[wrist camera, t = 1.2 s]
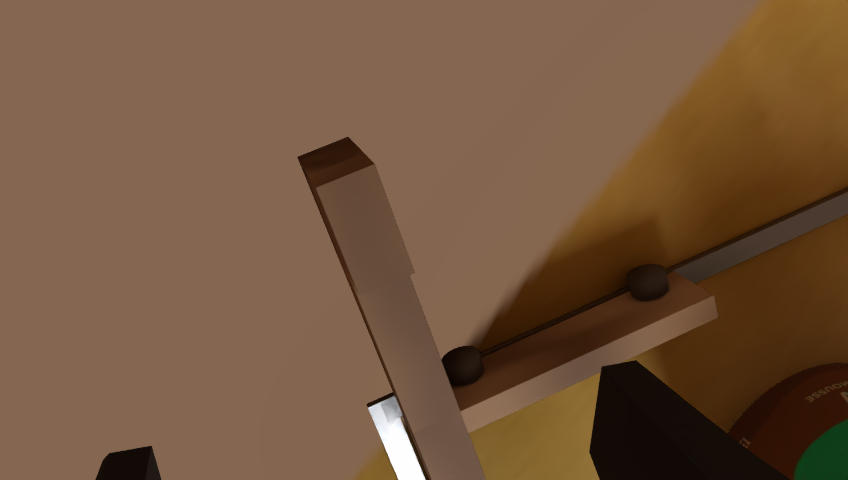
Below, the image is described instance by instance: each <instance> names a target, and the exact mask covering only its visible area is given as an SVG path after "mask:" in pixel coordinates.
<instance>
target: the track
mask: <svg viewBox="0 0 848 480" xmlns="http://www.w3.org/2000/svg"><path fill="white" fill-rule="evenodd" d="M847 214H848V188H846V189H844V190H842V191H840V192H838V193H835V194H833V195H831V196H829V197H826V198H824V199H822V200H820V201H817V202H815V203H813V204H811V205H809V206H806V207H804V208H802V209H800V210H797V211H795V212H793V213H791V214H789V215H786V216H784V217H782V218H780V219H777V220H775V221H773V222H771V223H768V224H766V225H764V226H762V227H760V228H757V229H755V230H753V231H751V232H748V233H746V234H744V235H742V236H740V237H737V238H735V239H733V240H731V241H728V242H726V243H724V244H722V245H720V246H717V247H715V248H713V249H711V250H708V251H706V252H704V253H702V254H699V255H697V256H695V257H693V258H691V259H688V260H686V261H684V262H682V263H679V264H677V265H675V266H673V267H671V268H668V269H666V270H665V271H666V275H667V274H669V273H671V272H673V271H675V272H677V273H678V274H680V275H682V276H683V277H685V278H687V279H688V280H690V281H691V282H693V283H697V282H699V281H701V280H704V279H706V278H708V277H710V276H712V275H715V274H717V273H719V272H721V271H723V270H726V269H728V268H730V267H732V266H734V265H737V264H739V263H741V262H743V261H745V260H748V259H750V258H752V257H754V256H756V255H759V254H761V253H763V252H765V251H767V250H770V249H772V248H774V247H776V246H778V245H781V244H783V243H785V242H787V241H789V240H792V239H794V238H796V237H798V236H800V235H803V234H805V233H807V232H809V231H811V230H814V229H816V228H818V227H820V226H822V225H825V224H827V223H829V222H831V221H833V220H836V219H838V218H840V217H842V216H844V215H847ZM629 291H630V288H629V286H628V287H626V288H624V289H622V290H619V291H617V292H615V293H613V294H610V295H608V296H606V297H604V298H602V299H599V300H597V301H595V302H593V303H590V304H588V305H586V306H584V307H581V308H579V309H577V310H575V311H573V312H570V313H568V314H566V315H564V316H561V317H559V318H557V319H555V320H553V321H550V322H548V323H546V324H544V325H541V326H539V327H537V328H535V329H533V330H530V331H528V332H526V333H524V334H521V335H519V336H517V337H515V338H512V339H510V340H508V341H506V342H504V343H501V344H499V345H497V346H495V347H492V348H490V349H488V350H486V351H484V352H481V353H479V354H480V357H481V358H482V357H485V356H487V355H489V354H491V353H493V352H496V351H498V350H500V349H502V348H505V347H507V346H509V345H511V344H513V343H516V342H518V341H520V340H522V339H525V338H527V337H529V336H531V335H533V334H536V333H538V332H540V331H542V330H544V329H547V328H549V327H551V326H553V325H556V324H558V323H560V322H562V321H564V320H567V319H569V318H571V317H573V316H576V315H578V314H580V313H582V312H584V311H587V310H589V309H591V308H593V307H596V306H598V305H600V304H602V303H604V302H607V301H609V300H611V299H613V298H616V297H618V296H620V295H622V294H624V293H627V292H629ZM367 406H368V409H369V411H370V413H371V416H372V418H373V420H374V423H375V425H376V428H377V430H378V432H379V435H380V437H381V439H382V442H383V444H384V446H385V449H386V451H387V453H388V456H389V458H390V460H391V463H392V465H393V467H394V470H395V472H396V474H397V477H398V479H399V480H425V477H424V475H423V472H422V470H421V467H420V465H419V463H418V460H417V458H416V455H415V453H414V450H413V448H412V445H411V443H410V441H409V438H408V436H407V433H406V431H405V428H404V426H403V423H402V421H401V419H400V417H402V416H403V415H402V412H401V410H400V408H399V405H398V403H397V400H396V398H395V395H394V393H393V392H392V393H390V394H388V395H386V396H383V397H381V398H379V399H377V400H374V401H373V402H370V403H368V404H367Z"/></svg>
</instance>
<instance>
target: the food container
mask: <svg viewBox="0 0 848 480" xmlns="http://www.w3.org/2000/svg"><path fill="white" fill-rule="evenodd" d="M728 435H730V436H731V437H732V438H734V439H735V440H736V441H738V442H739V443H740V444H741V445H743V446H744V447H745V448H747V449H748V450H750V451H751V452H752V453H754V454H755V455H756V456H758V457H759V458H761V459H762V460H763V461H765V462H766V463H767V464H769V465H770V466H772V467H773V468H775V469H776V470H778V471H779V472H780V473H782V474H783V475H785V476H786V477H788V478H789V479H791V480H848V364H842V363H834V364H826V365H820V366H816V367H813V368H809V369H806V370H803V371H801V372H799V373H797V374H794V375H792V376H790V377H788V378H786V379H785V380H783V381H781V382H780V383H778V384H777V385H775V386H773V387H772V388H770V389H769V390H768V391H767V392H766V393H764V394H763V395H762V396H761V397H759V398H758V399H757V400H756V401H755V402H754V403H753V404H752V405H751V406H750V407H749V408H748V409H747V410H746V411H745V412H744V413H743V414H742V415H741V416H740V418H739V419H738V420H737V422H736V423H735V424H734V426H733V427H732V428H731V430H730V431H729V432H728Z"/></svg>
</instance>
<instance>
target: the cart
mask: <svg viewBox="0 0 848 480" xmlns="http://www.w3.org/2000/svg"><path fill="white" fill-rule="evenodd" d="M298 160H299V162H300V165H301V167H302V170H303V172H304V174H305V177H306V179H307V182H308V184H309V187H310V189H311V191H312V194H313V196H314V199H315V201H316V204H317V206H318V209H319V211H320V214H321V216H322V219H323V221H324V223H325V226H326V228H327V231H328V233H329V236H330V238H331V241H332V243H333V246H334V248H335V251H336V253H337V255H338V258H339V260H340V263H341V265H342V268H343V270H344V273H345V275H346V278H347V280H348V282H349V285H350V287H351V290H352V292H353V294H354V297H355V300H356V302H357V305H358V307H359V309H360V312H361V314H362V317H363V319H364V322H365V324H366V327H367V329H368V331H369V334H370V336H371V339H372V341H373V344H374V346H375V349H376V351H377V354H378V356H379V358H380V360H381V363H382V366H383V368H384V370H385V373H386V375H387V378H388V381H389V383H390V385H391V388H392V390H393V393H394V395H395V398H396V400H397V403H398V405H399V408H400V410H401V412H402V415H403V417H404V420H405V422H406V425H407V427H408V430H409V432H410V435H411V437H412V439H413V442H414V444H415V447H416V449H417V452H418V454H419V457H420V459H421V462H422V464H423V466H424V469H425V471H426V474H427V476H428V479H429V480H486V479H485V476H484V474H483V471H482V468H481V466H480V463H479V460H478V457H477V455H476V452H475V449H474V447H473V444H472V441H471V439H470V436H469V433H470V432H472V431H474V430H477V429H479V428H481V427H483V426H485V425H487V424H489V423H492V422H494V421H496V420H498V419H500V418H502V417H505V416H507V415H509V414H511V413H513V412H515V411H518V410H520V409H522V408H524V407H526V406H528V405H530V404H533V403H535V402H537V401H539V400H541V399H543V398H546V397H548V396H550V395H552V394H554V393H556V392H559V391H561V390H563V389H565V388H567V387H569V386H572V385H574V384H576V383H578V382H580V381H582V380H584V379H587V378H589V377H591V376H593V375H595V374H597V373H600V372H601V368H602V366H607V365H613V364H618V363H621V362H623V361H625V360H628V359H630V358H632V357H634V356H636V355H638V354H641V353H643V352H645V351H647V350H649V349H651V348H654V347H656V346H658V345H660V344H662V343H664V342H667V341H669V340H671V339H673V338H675V337H677V336H679V335H682V334H684V333H686V332H688V331H690V330H692V329H695V328H697V327H699V326H701V325H703V324H705V323H708V322H710V321H712V320H714V319H716V318H718V312H717V307H716V302H715V298H714V295H713V294H711V293H709V292H708V291H706V290H705V289H703V288H701V287H700V286H698V285H696V284H695V283H693V282H691V281H690V280H688V279H687V278H685V277H683V276H682V275H680V274H678V273H677V272H675V271H673V272H671V273H669V274H667V275H666V271H665V268H664V267H663V266H660V265H656V264H648V265H643V266H639V267H637V268H635V269H633V270H631V271H630V272H629V273H628V275H627V280H628V284H629V288H630V291H629V292H627V293H624V294H622V295H620V296H618V297H616V298H613V299H611V300H609V301H607V302H604V303H602V304H600V305H598V306H596V307H593V308H591V309H589V310H587V311H584V312H582V313H580V314H578V315H576V316H573V317H571V318H569V319H567V320H564V321H562V322H560V323H558V324H556V325H553V326H551V327H549V328H547V329H544V330H542V331H540V332H538V333H536V334H533V335H531V336H529V337H527V338H525V339H522V340H520V341H518V342H516V343H513V344H511V345H509V346H507V347H505V348H502V349H500V350H498V351H496V352H493V353H491V354H489V355H487V356H485V357H482V358H481V357H480V354H479V351H478V349H477V348H475V347H473V346H462V347H458V348H455V349H453V350H451V351H449V352H448V353H447V354H446V355H444V357H443V358H442V360H441V358H440V356H439V353H438V350H437V348H436V345H435V342H434V340H433V337H432V335H431V332H430V329H429V326H428V324H427V321H426V318H425V315H424V313H423V310H422V307H421V305H420V302H419V299H418V297H417V294H416V291H415V289H414V286H413V283H412V281H411V278H410V274H413V273H415V272H414V269H413V266H412V264H411V261H410V258H409V256H408V253H407V250H406V248H405V245H404V242H403V239H402V237H401V234H400V231H399V228H398V226H397V224H396V220H395V218H394V215H393V212H392V209H391V207H390V204H389V201H388V199H387V196H386V193H385V191H384V188H383V185H382V183H381V180H380V177H379V174H378V172H377V169H376V166H375V164H374V163H373V162H372V161H371V160H370V159H369V158H368V157H367V156H366V155H365V154H364V153H363V152H362V151H361V149H360V148H359V147H358V146H356V144H355V143H354V142H352V140H351V139H350V138H349V137H346V138H344V139H341V140H339V141H336V142H334V143H331V144H329V145H326V146H324V147H321V148H319V149H316V150H314V151H311V152H309V153H306V154H304V155H301V156H299V157H298Z"/></svg>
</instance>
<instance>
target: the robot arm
mask: <svg viewBox="0 0 848 480" xmlns="http://www.w3.org/2000/svg"><path fill="white" fill-rule="evenodd" d="M589 452H590V455H591V458H592V460H593V463H594V466H595V468H596V471H597V474H598V476H599V479H600V480H791V479H789V478H788V477H786V476H785V475H783V474H782V473H780V472H779V471H778V470H776V469H775V468H773V467H772V466H770V465H769V464H767V463H766V462H765V461H763V460H762V459H761V458H759V457H758V456H756V455H755V454H754V453H752V452H751V451H750V450H748V449H747V448H745V447H744V446H743V445H741V444H740V443H739V442H738V441H736V440H735V439H734V438H732V437H731V436H730V435H728V434H727V433H726V432H724V431H723V430H722V429H720V428H719V427H718V426H717V425H715V424H714V423H713V422H712V421H710V420H709V419H708V418H706V417H705V416H704V415H703V414H701V413H700V412H699V411H698V410H697V409H695V408H694V407H693V406H692V405H690V404H689V403H688V402H687V401H685V400H684V399H683V398H682V397H680V396H679V395H678V394H677V393H676V392H674V391H673V390H672V389H671V388H669V387H668V386H667V385H666V384H665V383H663V382H662V381H661V380H660V379H658V378H657V377H656V376H655V375H654V374H652V373H651V372H650V371H649V370H647V369H646V368H645V367H644V366H642V365H641V364H640V363H639V362H637V361H636V360H635V361H630V362H624V363H618V364H613V365H607V366H602V368H601V375H600V382H599V389H598V396H597V403H596V409H595V416H594V423H593V430H592V437H591V444H590V451H589ZM96 480H161V477H160V473H159V470H158V467H157V463H156V459H155V456H154V453H153V449H152V446H148V447H143V448H136V449H131V450H126V451H120V452H114V453H109V454H108V455H107V456H106V457H105V459H104V460H103V462H102V464H101V467H100V469H99V472H98V475H97V477H96Z"/></svg>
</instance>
